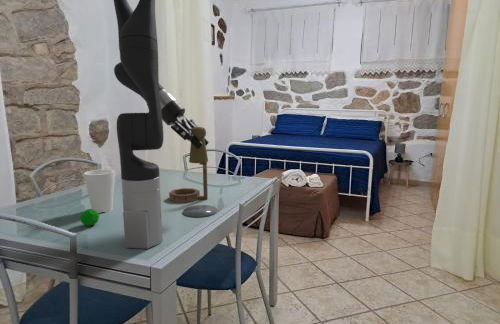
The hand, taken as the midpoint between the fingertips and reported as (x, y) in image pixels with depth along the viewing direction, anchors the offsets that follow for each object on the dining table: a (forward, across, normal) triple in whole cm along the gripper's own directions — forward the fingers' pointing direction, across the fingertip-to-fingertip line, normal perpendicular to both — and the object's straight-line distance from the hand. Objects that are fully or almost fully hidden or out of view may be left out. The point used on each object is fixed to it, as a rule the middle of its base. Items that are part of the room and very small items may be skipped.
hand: (203, 145), depth 114 cm
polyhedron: (-5, -18, +36) cm, 41 cm away
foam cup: (-9, -5, +40) cm, 41 cm away
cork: (+2, 0, +5) cm, 6 cm away
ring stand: (+7, +14, +23) cm, 28 cm away
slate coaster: (+14, 0, +17) cm, 22 cm away
